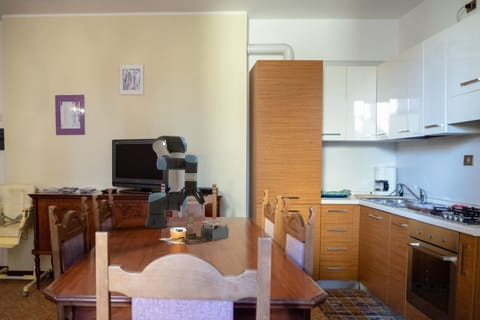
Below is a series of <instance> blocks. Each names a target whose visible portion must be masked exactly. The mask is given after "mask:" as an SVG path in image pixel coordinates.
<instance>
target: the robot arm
mask: <svg viewBox="0 0 480 320" xmlns="http://www.w3.org/2000/svg"><path fill="white" fill-rule="evenodd" d="M151 147H152V149H153V151H154V152H155V153H156V156H157V159H156V168H157V170H162V171H164V170H165V171H166V170H168V171H170V190H169V191H168V194H167V193H166V192H165V191H162V192H161V191H160V192H154V193H150V194H149V195H148V201H147V202H148V207H147V208H148V211H147V218H146V221H145V222H144V225H145V226H144V227H145V228H147V229H165V228H167V227H168V226H169V225H168V219H167V216H166V212H172V211H173V212H174V211H176V212H177V214H178V215H177V217H179V218H182V217H183V211H185V209H186V208H187V205H188V200H189V199H188V197H194V198H195V200H196V201H197V202H198V204H197V216H202V210H203V205H204V204H205V203H206V200H205V197H204V195H203V192H202V188H201V187H198V181H197V180H198V165H199V164H198V161H199V159H198V155H197V154H185V153H187V152H188V142H187V139H186V138H185V136H179V135H178V136H177V135H161V136H158V137H156V138H155V139H154V140H153V142H152V146H151ZM183 173H184V177H183ZM183 178H184V179H183ZM183 180H184V181H183ZM183 184H184V185H183ZM197 187H198V188H197Z"/></svg>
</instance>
